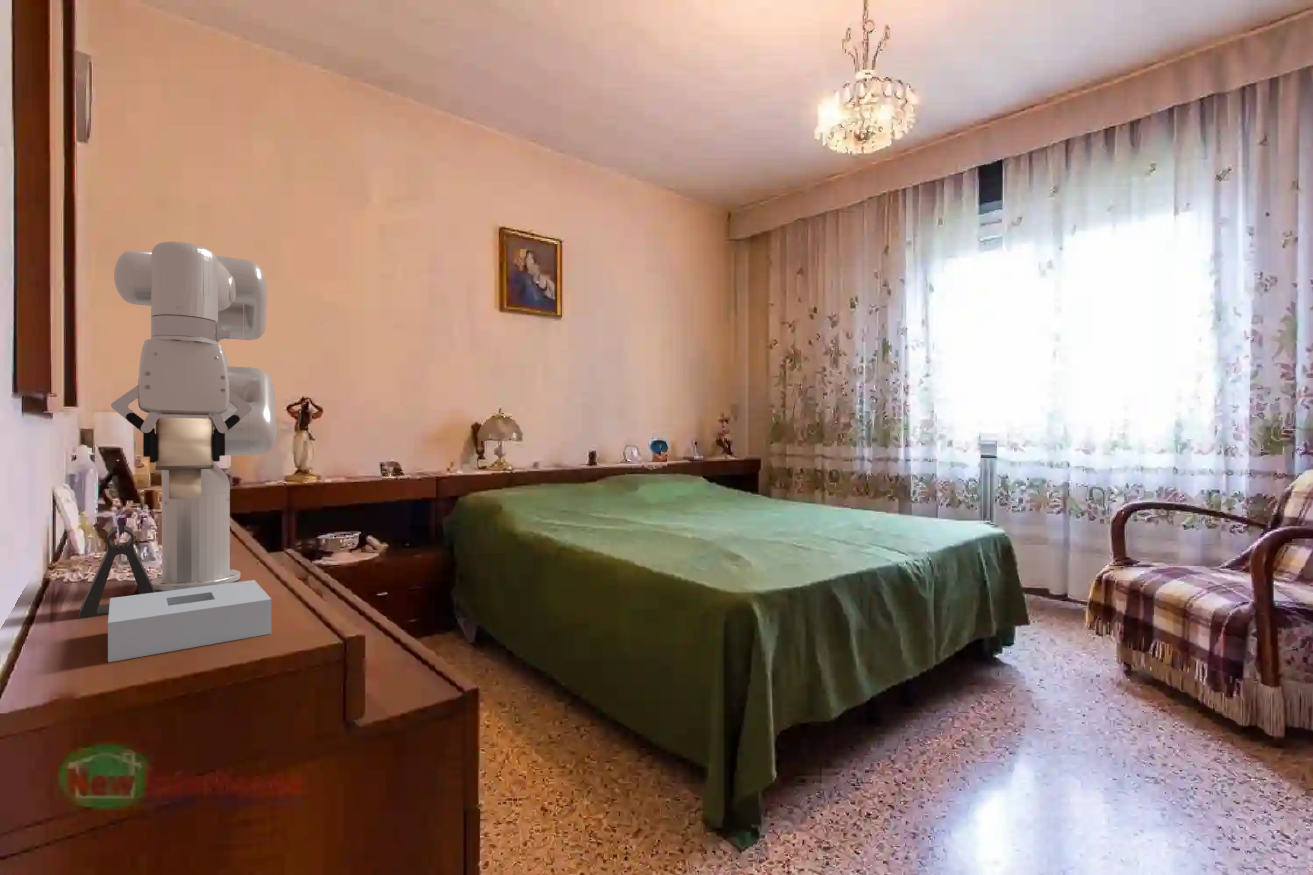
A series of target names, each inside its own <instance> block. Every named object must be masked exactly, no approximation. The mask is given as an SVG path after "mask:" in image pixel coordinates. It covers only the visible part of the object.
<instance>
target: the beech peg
mask: <svg viewBox="0 0 1313 875" xmlns="http://www.w3.org/2000/svg"><path fill="white" fill-rule="evenodd" d="M155 434H157V462H155V471H161V470H169V499H189V498H201V469H214V465H213V462H214V461H213V421H212V419H201V418H158V420H157V422H156V431H155Z"/></svg>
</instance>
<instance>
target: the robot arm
mask: <svg viewBox="0 0 1313 875" xmlns="http://www.w3.org/2000/svg"><path fill="white" fill-rule="evenodd" d="M113 272H114V273H113V279H114V280H113V281H114V284H115V288H116V290H117V293H118V295H119V296H120V297H121V298H122V299H123V300H124V301H125V302H127V303H129V304H132V305H138V306H146V307H150V339H145V340H144V341H143V345H142V348H141V352H140V357H139V358H140V359H139V366H138V367H139V369H138V380H137V381H138V382H137V385H136V386H134V387H133V388H131V389H130V390H129V391H127V392H125V394H122V395H121V396H120V397H118V398H117V399H115V400H114V401H112V402H111V404H110V406H111V408H112V409H113V410H114V411H115V412H116V413H118V414H119V415H120V416H122V418H124V419H125V420H126V421H127V422H129V423H130V424H131V425H132V426H134V427H135V428H136V429H137V430H138V431H140V432H141V433H142V436H143V437H142V438H143V440H142V445H143V447H142V448H143V449H142V450H143V452H142V454H143V455H142V456H143V458H149V463H151V464H152V463H153V464H154V463H155V464H156V462H157V434H156V422H157V420H158V418H201V419H212V421H213V465H214V469H201V498H189V499H169V470H160V471H161V575H160V576H158V577H155V578H153V579H152V580H150V581H151V583H152V585H153V587H154V589H155V591H157V592H163V591H171V590H179V589H187V588H194V587H202V586H210V585H218V584H226V583H234V582H238V580H240V578H241V572H240V570H237V569H231V567H230V566H231V564H230V563H231V561H230V560H231V558H230V557H231V552H230V551H231V544H230V542H231V539H230V538H231V537H230V535H231V534H230V533H231V532H230V530H231V529H230V527H231V526H230V525H231V523H230V522H231V520H230V519H231V518H230V516H231V512H230V511H231V510H230V509H231V507H230V505H231V504H230V503H231V502H230V501H231V500H230V498H231V497H230V496H231V495H230V494H231V493H230V492H231V486H230V485H231V483H230V479H229V477H228V475H227V473H225V471H223V469H222V468H221V467H220V466H218V465H217V464H216V463H217V462H220V460H221V459H220V457H222V456H224V457H225V456H256V455H257V456H259V455H263V454H267V453H269V452H270V451H271V450H272V449H273V448H274V446H275V444H276V441H277V437H278V435H277V434H278V424H277V411H276V410H277V409H276V394H275V388H274V387H275V386H274V383H273V380H272V377H271V376H270V374H269V373H268V372H266V371H265V370H264V369H260V368H257V367H250V366H249V367H246V366H233V365H232V366H229V360H228V358H227V356H226V354H225V353H226V352H225V348H224V346H223V345H222V344H219V343H218V342H220V341H221V340H224V339H226V340H240V341H241V340H242V341H253V340H258V339H260V338H261V337H263V335H264V333H265V331H266V329H267V328H266V326H267V297H268V296H267V294H268V292H267V282H266V277H265V274H264V271H263V270H262V268H261V267H260V266H259V265H258V264H257V263H256V262H255V261H252V260H249V259H244V258H237V257H236V258H235V257H228V256H221V255H215V253H214V252H213V251H212V250H210V249H208V248H207V247H205V246H201V245H198V244H194V243H190V242H182V241H162V242H159V243H157V244H155V245H154V246H153V248H152V250H151V251H137V250H128V251H127V250H126V251H124V252H122V253H121V255H120V256H119V257H118V259H117V260H116V263H115V267H114V271H113ZM136 400H137V404H138V408H139V409H140V410H141V411H143V412H144V413H147V415H146V417H145V419H143V418H141V416H140V415H138V414H136V413H135V412H134V411H133V410H131V408H130V407H129V405H130V404H132V403H133V402H134V401H136Z"/></svg>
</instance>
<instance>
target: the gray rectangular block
mask: <svg viewBox="0 0 1313 875" xmlns="http://www.w3.org/2000/svg"><path fill="white" fill-rule="evenodd" d="M272 600H273V599H272V597H271V596H269V595H268V593H267V592H266V591H265V590H264V589H263V588H262V587H261V585H260V584H259V583H258V582H257V581H256V580H255V579H252V580H243V581H242V580H241V581H235V582H232V583H226V584H218V585H210V586H202V587H194V588H187V589H179V590H171V591H156V592H155V593H147V594H140V593H139V594H133V595H131V594H130V595H126V596H125V595H124V596H117V597H110V598H109V604H110V605H109V615H108V618H107V662H108V663H113V662H114V663H115V662H117V661H118V662H119V661H124V660H130V659H135V658H141V657H147V656H151V655H158V654H164V653H170V652H175V651H180V650H181V651H182V650H186V649H193V648H197V647H203V646H209V645H215V644H221V643H227V642H233V641H238V640H243V639H251V638H255V637H260V636H266V635H272V628H273V626H272V622H273V620H272V616H273V615H272V609H273V608H272V604H273V601H272Z"/></svg>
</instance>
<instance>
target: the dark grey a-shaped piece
mask: <svg viewBox="0 0 1313 875" xmlns="http://www.w3.org/2000/svg"><path fill="white" fill-rule="evenodd" d="M123 532H124V533H126V534H128V535H129V536H130V537H129V539H128V540H127V541H125V543H121V544H120V543H117V544H116V542H114V541H113V540H112V537H113V535H115V534H117V533H118V526H117V525H116V526H113V527H112V528H111V529H110V530H109V531H108V533H107V539H106V544H107V548H106V551H105V553H104V555H103V557H102V560H101V561H100V564H99V566H98V568H97V570H96V573H95V575H94V576H93V580H92V581H91V584H90V586H89V588H88V590H87V592H86V594H85V597H84V599H83V601H82V604H81V605H80V609H79V613H78V618H79V619H81V618H82V619H88V618H96V617H101V616H102V617H103V616H109V605H110V603H105V604H104V603H102V604H100V602H101V600H102V596H103V593H104V591H105V588H106V584H107V581H108V578H109V575H110V572H111V569H112V566H113V563H114V561H115V558H116V557H117V556H119V555H125V556H126V557H127V560H128V563H129V566H130V568H131V571H132V575H133V578H134V580H135V583H136V585H137V588H138V591H139V594H147V593H155V592H157V590H155V589H154V587H153V585H152V583H151V581H152V580H151V579H150V577H149V575H148V573H147V571H146V570H145V567H144V564H143V562H142V561H141V559H140V557H139V555H138V553H137V551H136V548H135V547H134V543H135V537H134V532H133V529H132V528H131V527H129V526H127V525H124V526H123Z"/></svg>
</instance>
